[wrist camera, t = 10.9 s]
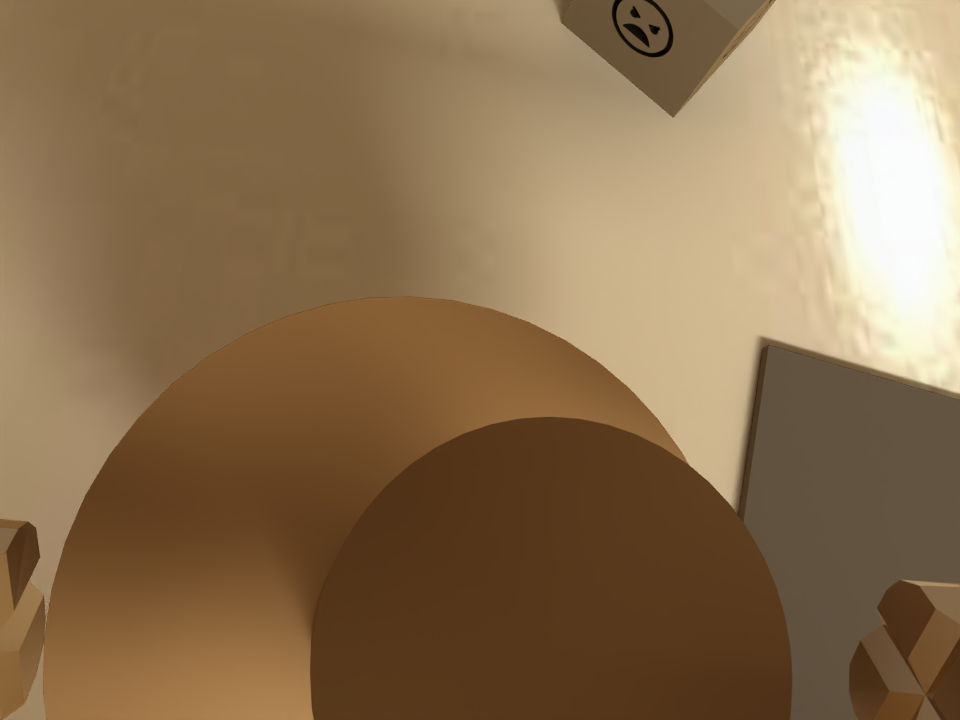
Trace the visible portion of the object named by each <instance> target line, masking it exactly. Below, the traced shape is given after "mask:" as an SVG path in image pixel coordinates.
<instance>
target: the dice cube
mask: <svg viewBox="0 0 960 720" xmlns="http://www.w3.org/2000/svg"><path fill="white" fill-rule="evenodd" d="M774 2H775V0H571V2H570V4H569V6H568V9H567V11H566V13H565V16H564V18H563V20H562V24H564V25H565V26H566V27H567V28H568V29H569V30H571V31H572V32H573V33H574V34H575V35H577V36H578V37H579V38H580V39H581V40H582V41H584V42H585V43H586V44H587V45H588V46H589V47H591V48H592V49H593V50H594V51H595V52H597V53H598V54H599V55H600V56H601V57H602V58H604V59H605V60H606V61H607V62H608V63H609V64H611V65H612V66H613V67H614V68H615V69H617V70H618V71H619V72H620V73H621V74H622V75H624V76H625V77H626V78H627V79H628V80H629V81H631V82H632V83H633V84H634V85H635V86H637V87H638V88H639V89H640V90H641V91H642V92H644V93H645V94H646V95H647V96H648V97H649V98H651V99H652V100H653V101H654V102H655V103H657V104H658V105H659V106H660V107H661V108H662V109H664V110H665V111H666V112H667V113H668V114H669V115H671V116H672V117H674V116H675V115H676V114H677V113H678V112H679V111H680V110H681V109H682V107H683V106H684V105H685V104H686V103H687V102H688V101H689V100H690V99H691V97H692V96H693V95H694V94H695V93H696V92H697V91H698V90H699V89H700V88H701V86H702V85H703V84H704V83H705V82H706V81H707V80H708V79H709V78H710V76H711V75H712V74H713V73H714V72H715V71H716V70H717V69H718V68H719V66H720V65H721V64H722V63H723V62H724V61H725V60H726V59H727V58H728V57H729V55H730V54H731V53H732V52H733V51H734V50H735V49H736V48H737V47H738V45H739V44H740V43H741V42H742V41H743V40H744V39H745V38H746V37H747V36H748V34H749V33H750V32H751V31H752V30H753V29H754V28H755V26H756V25H757V24H758V22H759V21H760V20H761V18H762V17H763V16H764V15H765V13H766V12H767V11H768V9H769V8H770V7H771V6H772V4H773V3H774Z"/></svg>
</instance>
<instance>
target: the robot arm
mask: <svg viewBox="0 0 960 720" xmlns="http://www.w3.org/2000/svg"><path fill="white" fill-rule="evenodd" d="M39 558H40V553H39V546H38V539H37V532H36V528H35V527H34V526H33V525H32V524H30V523H29V522H27V521H15V520H4V519H0V720H3V719H4V718H6V717H7V716H8V715H10V714H11V713H12V712H14V711H15V710H16V709H18V708H19V707H20V706H22V705H23V704H24V703H25V701H26V698H27V696H28V693H29V691H30V688H31V686H32V683H33V681H34V678H35V676H36V672H37V668H38V664H39V660H40V655H41V651H42V647H43V642H44V630H45V605H44V595H43V594H42V593H41V592H40V591H39V590H38V589H37V588H36V587H35V586H34V585H33V584H32V583H31V582H30V581H29V579H30V577H31V575H32V573H33V571H34V569H35V567H36V564H37V562H38V560H39ZM877 611H878V613H879V616H880V619H881V622H882V625H881V626H880V627H878V628H877V629H876V630H874V631H873V632H871V633H870V634H868V635H867V636H865V637H864V638H863V639H861V640H860V642H859V644H858V646H857V649H856V651H855V653H854V655H853V658H852V660H851V662H850V664H849V694H850V698H851V702H852V706H853V710H854V713H855V715H856V717H857V719H858V720H960V583H947V582H930V581H913V580H899V581H898V582H896V583H895V584H894V585H892V586H891V587H889V588H888V589H887V590H886V592H885V594H884V596H883V597H882V599H881V601H880V603H879V605H878V607H877Z"/></svg>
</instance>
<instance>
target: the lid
mask: <svg viewBox="0 0 960 720" xmlns="http://www.w3.org/2000/svg"><path fill="white" fill-rule="evenodd" d="M792 684H793V681H792V662H791V648H790V642H789V636H788V630H787V624H786V618H785V615H784V611H783V608H782V604H781V601H780V597H779V594H778V591H777V587H776V585H775V582H774V580H773V578H772V575H771V573H770V570H769V568H768V566H767V563H766V561H765V558H764V557H763V555H762V553H761V551H760V549H759V548H758V546H757V544H756V542H755V540H754V539H753V537H752V535H751V533H750V532H749V530H748V529H747V527H746V526H745V524H744V523H743V522H742V520H741V519H740V518H739V516H738V515H737V513H736V512H735V511H734V509H733V508H732V507H731V505H730V504H729V503H728V502H727V501H726V500H725V499H724V498H723V497H722V496H721V494H720V493H719V492H718V491H717V490H716V489H715V488H714V487H713V486H712V485H711V484H710V483H709V482H708V481H707V480H706V479H705V478H703V477H702V476H701V475H700V474H699V473H698V472H696V471H695V470H694V469H693V468H692V467H691V466H689V464H688V463H687V461H686V459H685V457H684V455H683V454H682V452H681V451H680V449H679V448H678V446H677V445H676V444H675V442H674V441H673V439H672V438H671V437H670V435H669V434H668V433H667V431H666V430H665V428H664V427H663V426H662V424H661V423H660V422H659V420H658V419H657V418H656V417H655V416H654V414H653V413H652V412H651V411H650V410H649V409H648V408H647V407H646V406H645V405H644V404H643V403H642V401H641V400H640V399H639V398H638V397H637V396H636V395H635V394H634V393H633V392H632V391H631V390H630V389H629V388H628V387H627V386H626V385H625V384H624V383H622V382H621V381H620V380H619V379H618V378H616V377H615V376H614V375H613V374H612V373H611V372H609V371H608V370H607V369H606V368H605V367H604V366H602V365H601V364H600V363H599V362H597V361H596V360H594V359H593V358H591V357H590V356H588V355H587V354H585V353H584V352H582V351H581V350H579V349H578V348H576V347H575V346H573V345H571V344H570V343H568V342H567V341H565V340H564V339H562V338H560V337H557V336H555V335H553V334H551V333H549V332H547V331H545V330H543V329H541V328H539V327H537V326H535V325H533V324H531V323H529V322H527V321H524V320H521V319H518V318H515V317H512V316H510V315H507V314H504V313H501V312H498V311H495V310H492V309H489V308H484V307H480V306H475V305H470V304H466V303H461V302H457V301H452V300H443V299H431V298H420V297H384V298H366V299H360V300H353V301H347V302H341V303H335V304H328V305H324V306H321V307H318V308H314V309H311V310H307V311H304V312H300V313H297V314H294V315H290V316H287V317H284V318H282V319H280V320H277V321H275V322H273V323H270V324H268V325H266V326H263V327H261V328H259V329H257V330H254V331H252V332H250V333H247V334H245V335H244V336H242V337H240V338H239V339H237V340H235V341H233V342H232V343H230V344H228V345H227V346H225V347H223V348H222V349H220V350H218V351H217V352H215V353H213V354H211V355H210V356H208V357H207V358H205V359H204V360H203V361H202V362H200V363H199V364H198V365H196V366H195V367H194V368H192V369H191V370H190V371H189V372H187V373H186V374H185V375H183V376H182V377H181V378H180V379H178V380H177V381H176V382H174V383H173V384H172V385H171V386H170V387H169V388H168V389H167V390H166V391H165V392H164V393H163V394H162V395H161V396H160V397H159V398H158V399H157V400H156V401H155V402H154V403H153V404H152V405H151V406H150V407H149V408H148V409H147V410H146V411H145V412H144V413H143V414H142V415H141V416H140V417H139V418H138V419H137V420H136V422H135V423H134V424H133V426H132V427H131V428H130V429H129V431H128V432H127V433H126V434H125V436H124V437H123V438H122V440H121V441H120V442H119V443H118V445H117V446H116V447H115V449H114V450H113V451H112V452H111V454H110V455H109V457H108V459H107V460H106V462H105V464H104V465H103V467H102V469H101V470H100V472H99V474H98V475H97V477H96V479H95V480H94V482H93V484H92V485H91V487H90V489H89V490H88V492H87V494H86V495H85V498H84V500H83V502H82V504H81V507H80V509H79V511H78V514H77V516H76V518H75V521H74V523H73V525H72V527H71V530H70V532H69V534H68V537H67V539H66V541H65V545H64V548H63V552H62V555H61V559H60V562H59V566H58V569H57V573H56V576H55V579H54V583H53V586H52V591H51V597H50V604H49V610H48V617H47V623H46V630H45V636H44V671H43V693H44V702H45V710H46V719H47V720H790V716H791V700H792Z"/></svg>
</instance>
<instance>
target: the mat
mask: <svg viewBox="0 0 960 720" xmlns="http://www.w3.org/2000/svg"><path fill="white" fill-rule="evenodd" d="M739 518H740V519H741V520H742V522H743V523H744V524H745V526H746V527H747V529H748V530H749V532H750V533H751V535H752V537H753V539H754V540H755V542H756V544H757V546H758V548H759V549H760V551H761V553H762V555H763V557H764V558H765V561H766V563H767V566H768V568H769V570H770V573H771V575H772V578H773V580H774V582H775V585H776V587H777V591H778V594H779V597H780V601H781V604H782V608H783V611H784V615H785V618H786V624H787V630H788V636H789V642H790V648H791V662H792V681H793V684H792V700H791V716H790V720H858V719H857V717H856V715H855V713H854V710H853V706H852V702H851V698H850V694H849V664H850V662H851V660H852V658H853V655H854V653H855V651H856V649H857V646H858V644H859V642H860V640H861V639H863V638H864V637H865V636H867V635H868V634H870V633H871V632H873V631H874V630H876V629H877V628H878V627H880V626H881V625H882V622H881V619H880V616H879V613H878V611H877V607H878V605H879V603H880V601H881V599H882V597H883V596H884V594H885V592H886V590H887V589H888V588H889V587H891V586H892V585H894V584H895V583H896V582H898V581H899V580H913V581H930V582H947V583H960V400H957V399H953V398H950V397H946V396H943V395H939V394H936V393H933V392H929V391H926V390H922V389H919V388H915V387H912V386H908V385H905V384H901V383H898V382H894V381H891V380H888V379H884V378H881V377H877V376H874V375H870V374H867V373H863V372H860V371H856V370H853V369H849V368H846V367H842V366H839V365H836V364H832V363H829V362H825V361H822V360H818V359H815V358H811V357H808V356H804V355H801V354H797V353H794V352H791V351H787V350H784V349H780V348H777V347H773V346H770V345H768V346H767V347H765V348H763V351H762V358H761V365H760V372H759V379H758V386H757V393H756V400H755V406H754V413H753V420H752V427H751V434H750V441H749V448H748V455H747V461H746V468H745V475H744V482H743V489H742V496H741V503H740V510H739Z"/></svg>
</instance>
